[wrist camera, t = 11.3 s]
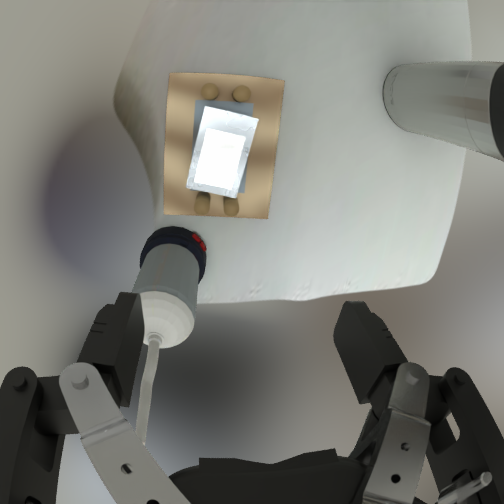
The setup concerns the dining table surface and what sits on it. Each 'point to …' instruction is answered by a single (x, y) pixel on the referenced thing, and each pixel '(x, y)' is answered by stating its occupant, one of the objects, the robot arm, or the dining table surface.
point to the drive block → (221, 152)
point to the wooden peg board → (186, 131)
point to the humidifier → (166, 299)
